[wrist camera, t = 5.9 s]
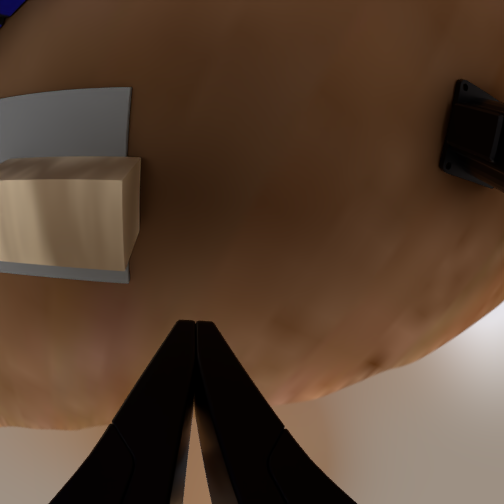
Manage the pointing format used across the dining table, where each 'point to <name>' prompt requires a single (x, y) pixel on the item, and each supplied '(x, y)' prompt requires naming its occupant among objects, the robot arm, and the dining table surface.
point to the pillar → (70, 211)
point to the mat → (66, 146)
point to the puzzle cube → (8, 8)
